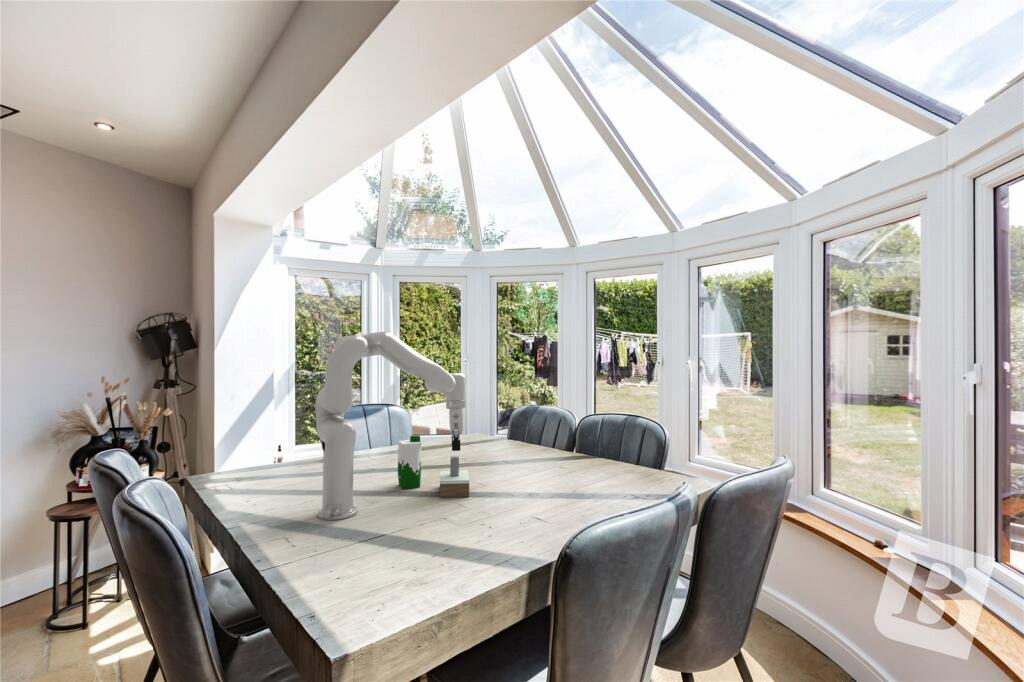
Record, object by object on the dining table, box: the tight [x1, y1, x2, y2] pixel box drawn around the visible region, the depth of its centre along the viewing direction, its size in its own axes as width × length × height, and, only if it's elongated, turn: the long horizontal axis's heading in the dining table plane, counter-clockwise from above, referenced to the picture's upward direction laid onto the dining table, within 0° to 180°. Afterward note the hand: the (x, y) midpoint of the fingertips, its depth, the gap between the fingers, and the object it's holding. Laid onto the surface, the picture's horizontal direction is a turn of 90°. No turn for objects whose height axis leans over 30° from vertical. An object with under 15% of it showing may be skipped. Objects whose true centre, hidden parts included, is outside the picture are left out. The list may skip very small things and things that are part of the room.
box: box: [439, 482, 470, 498], centre depth 184 cm, size 15×11×5 cm
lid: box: [439, 455, 470, 485], centre depth 184 cm, size 15×11×8 cm
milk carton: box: [397, 434, 423, 490], centre depth 191 cm, size 9×9×20 cm
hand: (455, 447), depth 185 cm, fingers open, 9 cm apart
